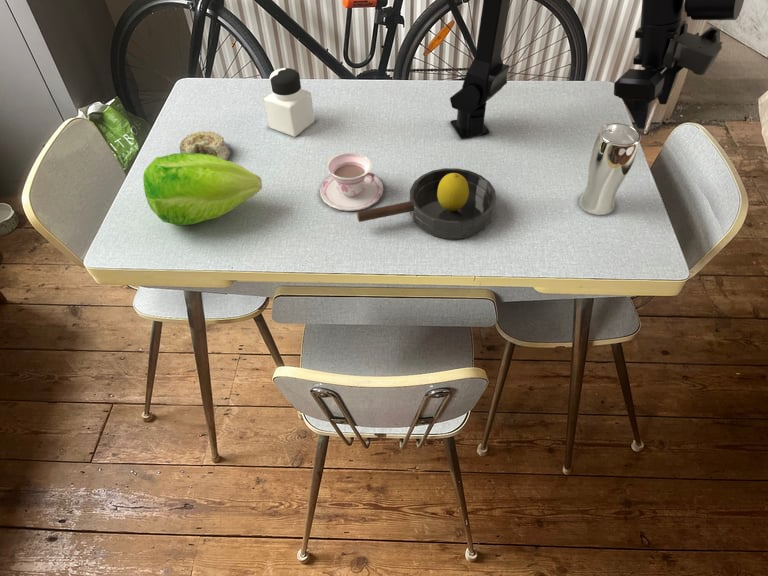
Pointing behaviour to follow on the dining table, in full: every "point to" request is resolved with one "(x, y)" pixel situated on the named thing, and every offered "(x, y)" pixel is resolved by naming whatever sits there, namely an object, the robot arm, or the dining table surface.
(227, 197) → the lettuce
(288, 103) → the medicine bottle
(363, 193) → the teacup
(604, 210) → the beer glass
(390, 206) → the pan handle
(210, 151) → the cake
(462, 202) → the lemon
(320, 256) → the dining table surface
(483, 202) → the pan
